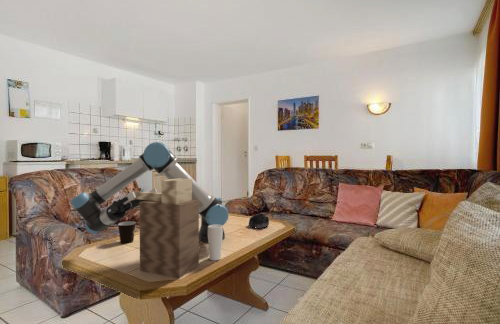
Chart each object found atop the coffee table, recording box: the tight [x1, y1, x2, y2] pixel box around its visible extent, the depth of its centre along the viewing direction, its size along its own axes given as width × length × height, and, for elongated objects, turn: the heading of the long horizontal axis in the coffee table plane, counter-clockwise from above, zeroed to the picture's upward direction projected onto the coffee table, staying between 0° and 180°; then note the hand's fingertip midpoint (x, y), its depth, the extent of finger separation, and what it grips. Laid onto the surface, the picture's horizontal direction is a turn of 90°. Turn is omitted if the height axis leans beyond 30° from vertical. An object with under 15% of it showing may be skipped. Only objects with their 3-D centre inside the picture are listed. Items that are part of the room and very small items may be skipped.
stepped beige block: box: [133, 178, 192, 204], centre depth 117 cm, size 25×11×9 cm, turn 70°
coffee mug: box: [117, 221, 136, 245], centre depth 151 cm, size 12×9×10 cm
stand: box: [139, 200, 200, 279], centre depth 115 cm, size 19×14×28 cm
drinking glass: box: [207, 224, 224, 262], centre depth 126 cm, size 7×7×15 cm
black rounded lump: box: [248, 212, 270, 229], centre depth 185 cm, size 13×14×10 cm
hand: (145, 192), depth 119 cm, fingers open, 13 cm apart
